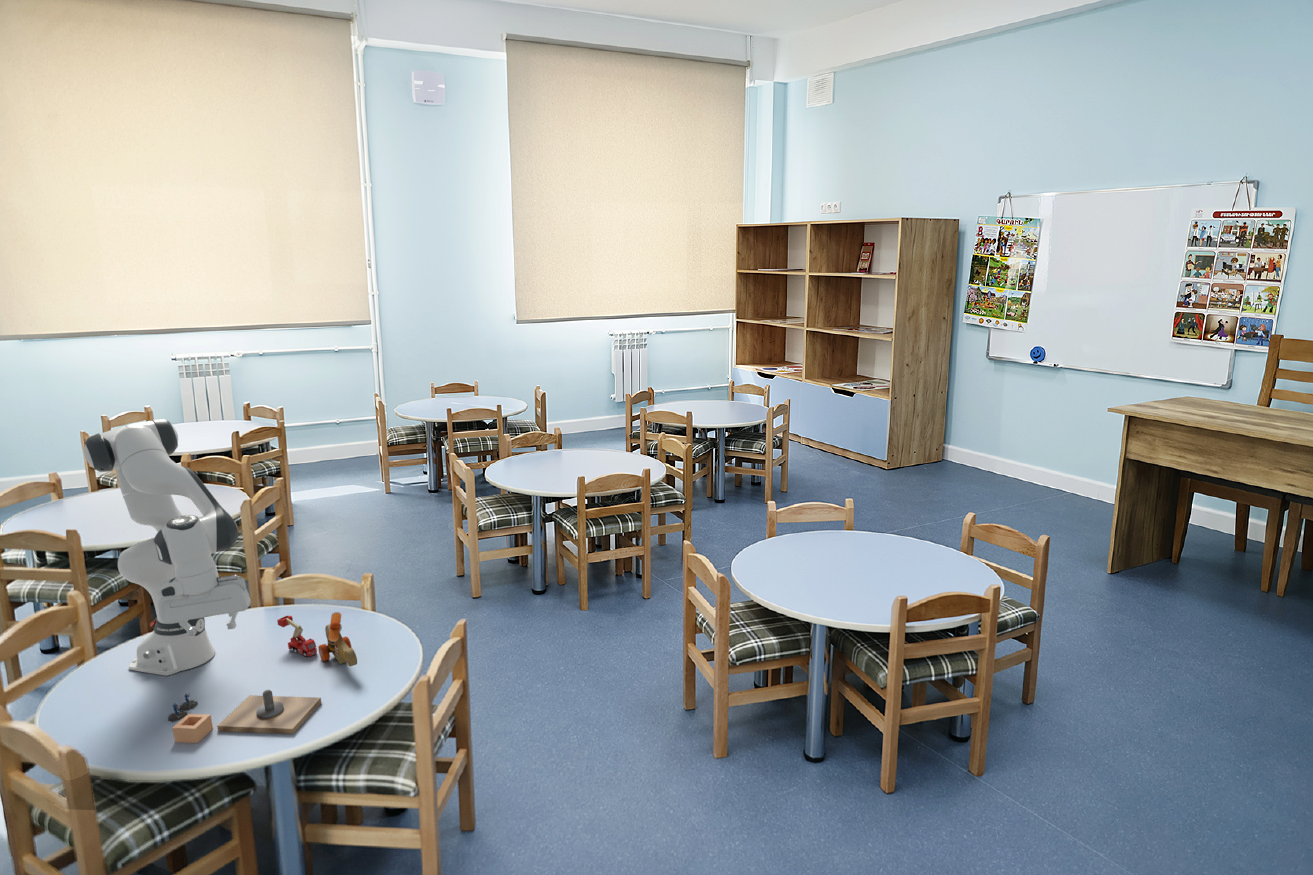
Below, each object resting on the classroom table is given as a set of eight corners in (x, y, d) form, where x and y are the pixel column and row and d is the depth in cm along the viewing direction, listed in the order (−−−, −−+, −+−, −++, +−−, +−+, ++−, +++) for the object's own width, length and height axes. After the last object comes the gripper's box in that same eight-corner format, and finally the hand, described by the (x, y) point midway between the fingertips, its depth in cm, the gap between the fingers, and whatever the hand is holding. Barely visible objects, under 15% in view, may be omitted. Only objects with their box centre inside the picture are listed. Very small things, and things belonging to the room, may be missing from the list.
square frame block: (175, 742, 201) (172, 727, 200) (190, 727, 207) (188, 713, 206) (197, 743, 201) (195, 728, 200) (213, 728, 206) (210, 714, 206)
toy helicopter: (345, 647, 246) (340, 605, 243) (371, 674, 230) (365, 629, 227) (318, 656, 241) (311, 613, 238) (342, 684, 225) (335, 639, 222)
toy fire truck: (309, 658, 240) (304, 628, 238) (280, 647, 247) (276, 618, 245) (318, 653, 243) (314, 623, 240) (290, 642, 250) (286, 613, 248)
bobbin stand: (218, 731, 205) (213, 704, 203) (250, 700, 219) (246, 674, 217) (293, 734, 203) (289, 706, 201) (321, 702, 217) (317, 676, 215)
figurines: (181, 722, 210) (178, 707, 209) (162, 723, 210) (159, 708, 209) (203, 701, 219) (200, 686, 218) (185, 701, 220) (182, 687, 219)
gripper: (247, 568, 205) (259, 618, 208) (160, 582, 202) (175, 632, 206) (238, 578, 199) (252, 629, 202) (149, 592, 196) (164, 644, 200)
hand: (212, 631), depth 204 cm, fingers open, 8 cm apart
